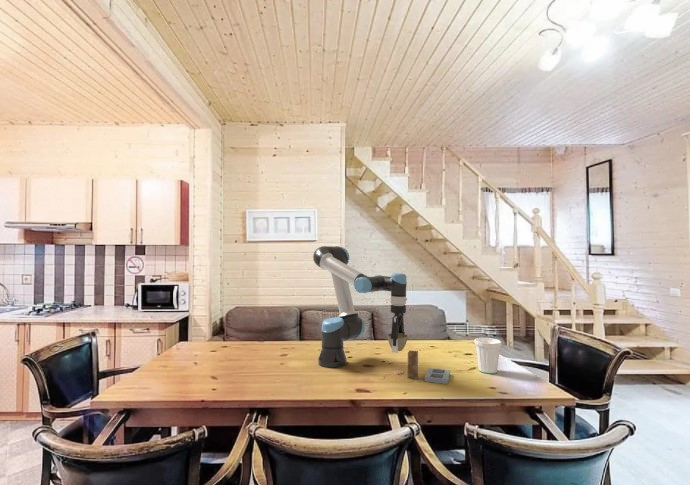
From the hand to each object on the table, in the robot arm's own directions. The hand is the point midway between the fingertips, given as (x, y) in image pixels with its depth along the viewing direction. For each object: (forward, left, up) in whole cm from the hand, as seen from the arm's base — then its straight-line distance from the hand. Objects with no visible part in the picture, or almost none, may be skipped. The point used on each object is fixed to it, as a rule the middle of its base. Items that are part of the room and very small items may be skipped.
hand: (397, 349), depth 177 cm
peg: (+9, -4, -11) cm, 15 cm away
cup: (+42, +19, -11) cm, 47 cm away
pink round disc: (+1, 0, -11) cm, 11 cm away
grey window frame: (+20, 0, -11) cm, 22 cm away
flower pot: (0, 0, 0) cm, 0 cm away
